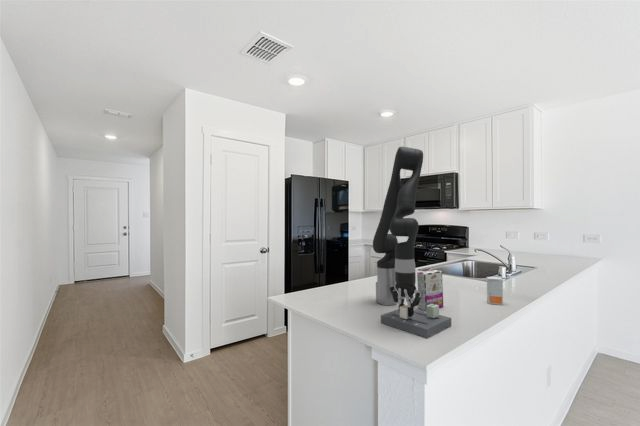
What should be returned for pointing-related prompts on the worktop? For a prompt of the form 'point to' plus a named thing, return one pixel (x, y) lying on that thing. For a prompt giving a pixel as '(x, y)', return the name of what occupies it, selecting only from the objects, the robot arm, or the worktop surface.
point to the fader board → (417, 322)
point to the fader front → (404, 312)
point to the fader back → (432, 310)
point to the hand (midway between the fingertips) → (406, 315)
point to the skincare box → (495, 290)
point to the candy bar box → (430, 288)
